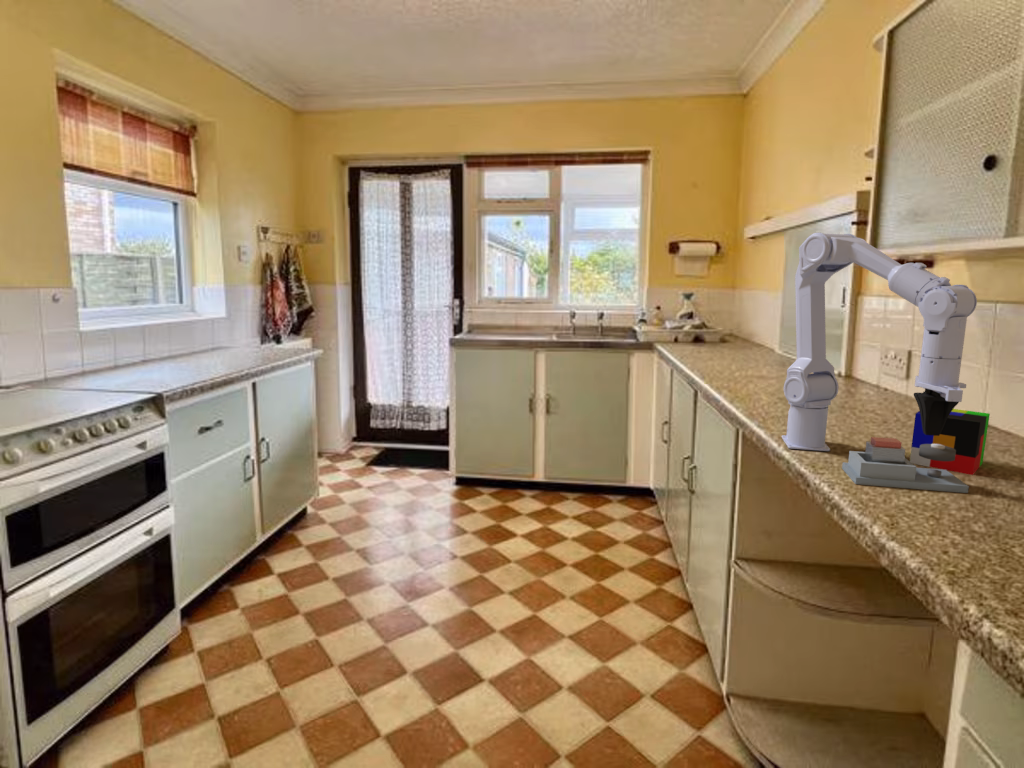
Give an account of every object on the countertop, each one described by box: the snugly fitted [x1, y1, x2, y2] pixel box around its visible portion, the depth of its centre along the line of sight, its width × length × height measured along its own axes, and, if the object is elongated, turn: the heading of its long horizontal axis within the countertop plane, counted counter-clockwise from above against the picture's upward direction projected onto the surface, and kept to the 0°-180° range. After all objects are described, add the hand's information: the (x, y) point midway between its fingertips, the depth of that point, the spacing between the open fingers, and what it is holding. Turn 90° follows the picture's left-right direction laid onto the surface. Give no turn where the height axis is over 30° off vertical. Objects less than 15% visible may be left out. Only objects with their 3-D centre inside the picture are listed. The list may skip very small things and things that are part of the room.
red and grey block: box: [864, 436, 906, 464], centre depth 108 cm, size 4×5×6 cm
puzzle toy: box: [909, 408, 990, 476], centre depth 117 cm, size 10×10×10 cm
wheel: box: [919, 444, 956, 461], centre depth 106 cm, size 5×5×2 cm
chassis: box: [841, 450, 970, 494], centre depth 108 cm, size 9×17×4 cm, turn 75°
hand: (931, 434), depth 106 cm, fingers closed
